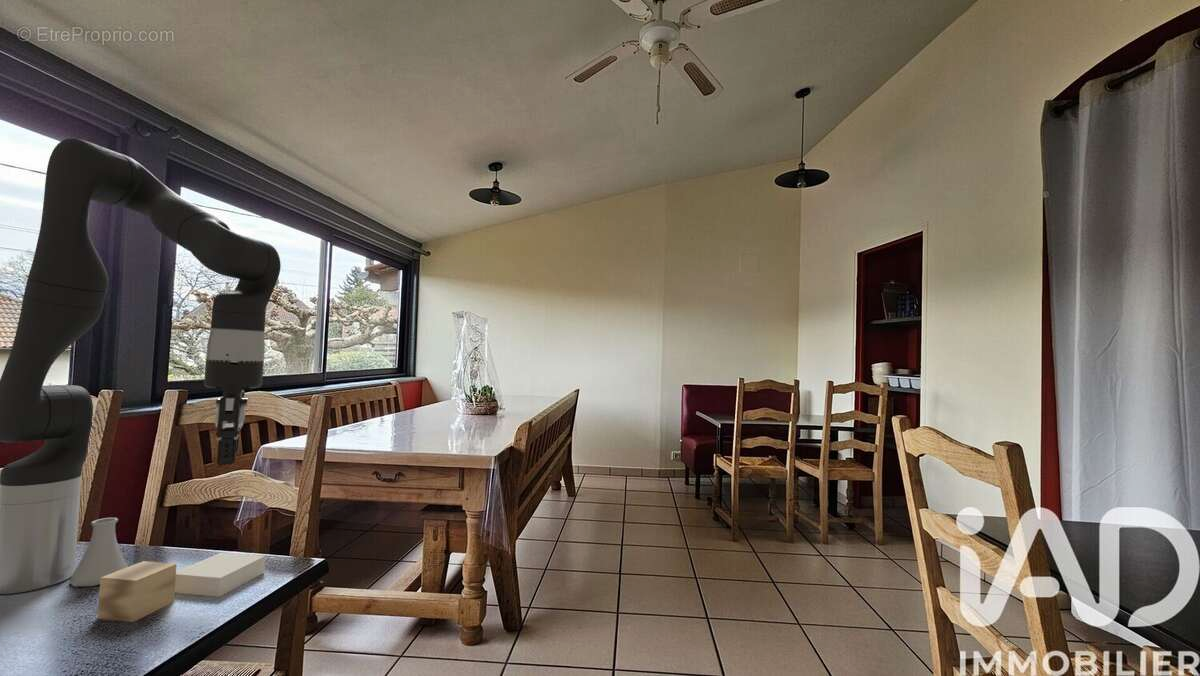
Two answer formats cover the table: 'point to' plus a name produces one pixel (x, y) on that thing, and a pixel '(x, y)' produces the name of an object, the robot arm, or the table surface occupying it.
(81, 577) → the flask
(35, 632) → the table surface
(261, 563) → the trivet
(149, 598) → the oak block
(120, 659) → the table surface
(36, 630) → the table surface
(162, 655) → the table surface
